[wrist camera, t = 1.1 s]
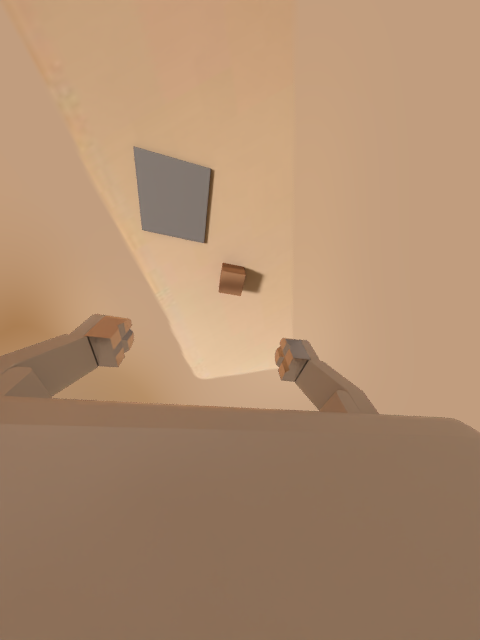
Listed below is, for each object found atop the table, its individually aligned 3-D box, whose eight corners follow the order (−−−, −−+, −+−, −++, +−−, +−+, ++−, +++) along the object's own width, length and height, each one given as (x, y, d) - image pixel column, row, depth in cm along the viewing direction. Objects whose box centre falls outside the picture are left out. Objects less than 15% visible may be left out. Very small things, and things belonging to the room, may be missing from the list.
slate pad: (134, 147, 27) (133, 146, 27) (210, 169, 29) (210, 168, 29) (143, 229, 34) (142, 230, 34) (204, 242, 36) (203, 243, 36)
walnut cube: (222, 262, 39) (222, 270, 35) (243, 266, 40) (245, 275, 36) (219, 282, 42) (218, 292, 38) (239, 286, 43) (240, 295, 39)
